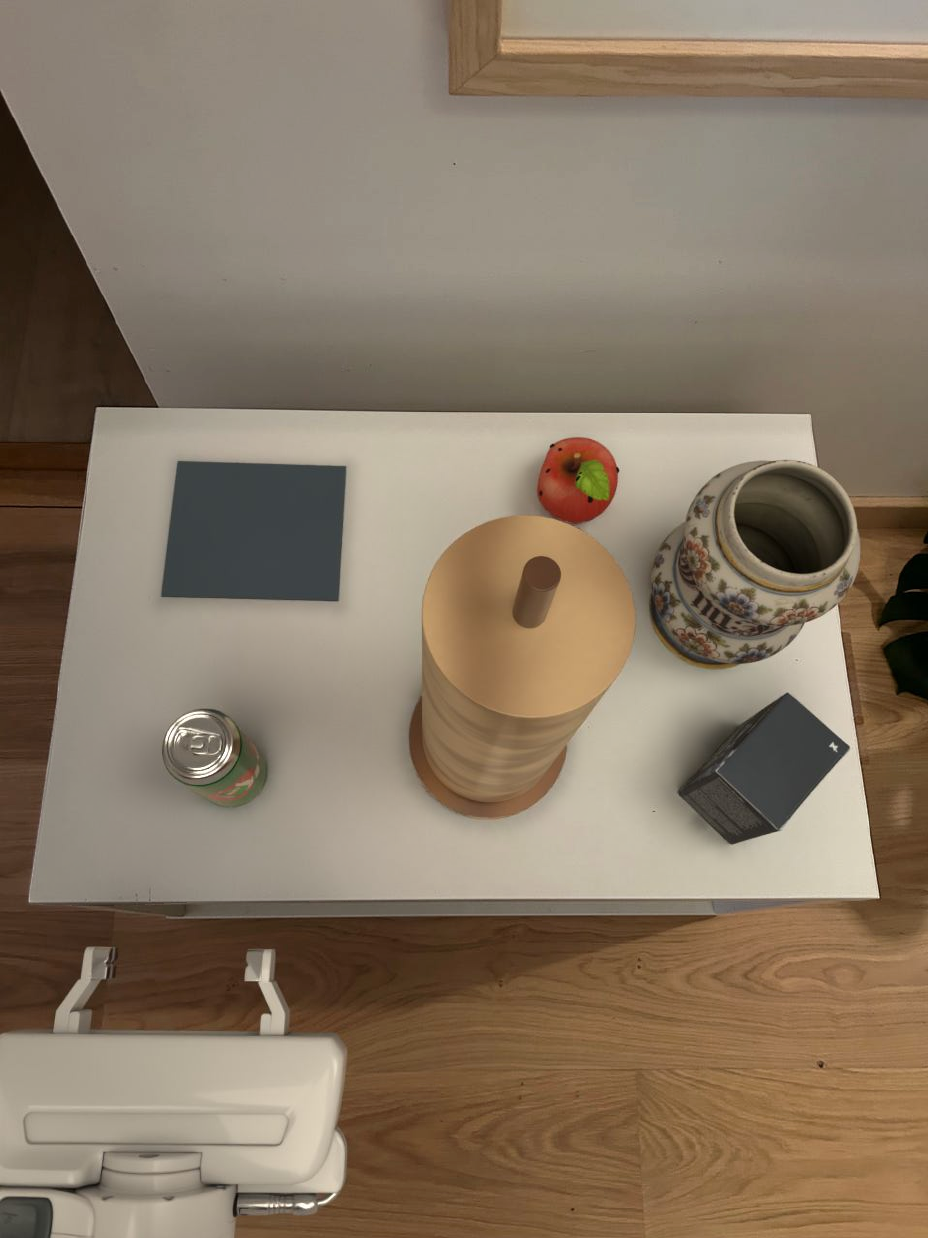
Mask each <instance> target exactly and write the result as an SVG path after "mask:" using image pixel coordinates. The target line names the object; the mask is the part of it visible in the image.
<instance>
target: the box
mask: <svg viewBox="0 0 928 1238" xmlns="http://www.w3.org/2000/svg"><path fill="white" fill-rule="evenodd" d="M850 750H851V746H850V745H849V744H848V743H846V742H845V741H844V740H843V739H842V738H841V737H839V735H837V734H836V733H835V731H833V730H832V729H831V728H830V727H828V726H827V725H826V724H825V722H823V721H821V720H820V718H818V717H817V716H816V715H815V714H814V713H813V712H812V711H810V710H809V709H808V708H807V707H806V706H805V705H804V704H802V702H801V701H799V700H798V699H797V698H796V697H794V696H793V695H792V694H791V693H790V692H785V693H784V694H783V695H780V696H779V697H778V698H777V699H775V700H773V701H772V702H771V703H769V704H767V706H765V707H764V708H762V709H760V710H759V711H758V712H756V713H754V715H752V716H750V717H749V718H748V719H747V720H744V721H743V722H742V723H740V724H739V726H737V728H736V729H735V730H734V731H733V732H732V734H731V735H729V736H728V737H727V739H726V740H725V741H724V742H723V743H722V744H721V745H720V746H719V748H718V749H716V751H714V753H713V754H712V755H711V756H710V757H709V758H708V759H707V760H706V762H705V763H703V764H702V766H701V767H700V768H699V769H698V770H697V772H696V773H695V774H694V775H693V776H691V777H690V778H689V780H688V781H687V782H686V783H685V784H684V785H683V786H682V787H681V788H680V789H679V790H678V792H677V794H678V796H679V797H680V798H681V799H683V800H684V801H685V802H686V803H687V804H688V806H689V807H691V808H692V809H693V810H694V811H695V812H696V813H697V814H698V815H699V816H700V817H701V818H702V819H703V820H704V821H705V822H706V823H707V824H708V825H709V826H711V827H712V829H713V830H714V831H715V832H716V833H717V834H719V835H720V836H721V837H722V838H723V840H725V841H726V843H728V844H729V845H732V846H733V845H735V844H739V843H742V842H746V841H749V840H752V839H756V838H760V837H764V836H767V835H771V834H773V833H777V832H781V831H783V828H785V826H786V825H787V824H788V822H789V821H790V820H791V818H792V817H793V815H794V814H795V813H796V812H797V811H798V810H799V808H800V807H801V806H802V805H803V804H804V803H805V801H807V799H808V797H810V795H811V794H812V793H813V792H814V790H815V789H817V787H818V786H819V785H821V783H822V781H824V779H825V778H826V777H827V776H828V774H830V773H831V771H833V769H834V768H835V767H836V766H837V765H838V764H839V762H840V761H841V760H842V759H843V758H844V757H845V756H846V755H847V754H848V753H849V752H850Z"/></svg>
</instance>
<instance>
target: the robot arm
mask: <svg viewBox="0 0 928 1238" xmlns="http://www.w3.org/2000/svg"><path fill="white" fill-rule="evenodd" d="M118 959H119V948H118V947H117V946H86V948H85V950H84V952H83V959H82V965H81V973H80V978H78V979H77V981H76V982H75V984H74V985H73V986H72V987H71V989H70V990H69V992H68V993H67V994H66V995H65V998H64V999H63V1000H62V1002H61V1003H60V1004H59V1006H58V1007H57V1009H56V1010H55V1014H54V1015H55V1018H54V1024H53V1028H19V1029H14V1030H9V1031H6V1032H3V1033H2V1032H1V1033H0V1238H235V1236H236V1235H235V1234H236V1223H237V1216H268V1215H276V1214H292V1215H293V1216H310V1215H314V1214H316V1213H317V1212H318V1209H319V1208H320V1207H323V1206H326V1205H328V1204H330V1203H332V1202H333V1201H334V1200H335V1199H336V1198H337V1197H338V1196H339V1195H340V1193H341V1192H342V1189H343V1188H344V1186H345V1182H346V1179H347V1166H348V1144H347V1143H348V1142H347V1139H346V1137H345V1134H344V1133H343V1131H342V1129H341V1128H340V1127H339V1126H338V1123H339V1117H340V1113H341V1109H342V1108H341V1107H342V1102H343V1098H344V1097H343V1096H344V1089H345V1082H346V1075H347V1074H346V1073H347V1063H348V1047H347V1045H346V1044H345V1042H344V1041H343V1039H342V1038H341V1037H340V1036H339V1035H338V1033H336V1032H333V1031H331V1032H330V1031H290V1022H291V1021H290V1019H291V1010H290V1007H289V1005H288V1003H287V1001H286V999H285V997H284V995H283V993H282V990H281V988H280V986H279V984H278V982H277V980H275V970H276V969H275V968H276V948H248V949H247V951H246V956H245V962H246V963H247V966H246V967H245V969H244V980H243V981H244V982H257V983H258V986H259V988H260V990H261V992H262V995H263V997H264V1000H265V1001H266V1004H267V1006H268V1008H269V1010H268V1011H266V1012H264V1013H262V1014H261V1015H260V1023H259V1024H260V1027H259V1031H258V1030H257V1031H256V1030H255V1031H253V1030H175V1029H173V1030H171V1029H170V1030H167V1029H166V1030H164V1029H163V1030H162V1029H161V1030H160V1029H159V1030H158V1029H91V1023H92V1016H93V1010H92V1009H91V1008H84V1007H85V1005H86V1003H87V1002H88V1000H89V999H90V998H91V996H92V995H93V993H94V992H95V990H96V988H97V987H98V985H99V984H100V983H101V981H102V980H110V979H116V974H117V964H116V962H117V960H118ZM319 1194H326V1195H325V1196H322V1197H319Z"/></svg>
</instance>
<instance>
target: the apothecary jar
mask: <svg viewBox="0 0 928 1238" xmlns="http://www.w3.org/2000/svg"><path fill="white" fill-rule="evenodd" d="M856 515H857V514H856V512H855V508H854V505H853V502H852V500H851V498H850V497H849V495H848V493H847V491H846V490H845V488H843V486H842V485H841V483H839V481H838V480H836V479H835V478H834V476H833V475H831V474H830V473H828V472H827V471H826V470H824V469H823V468H820V467H818V466H816V465H814V464H811V463H810V462H809V463H808V462H805V461H802V460H796V459H778V460H777V459H776V460H753V461H747V462H742V463H738V464H736V465H733V466H731V467H728V468H726V469H723V470H722V471H720V472H719V473H717V474H715V475H714V476H713V477H711V479H709V480H708V481H707V482H706V483H705V484H704V485H703V486H702V487H701V488H700V489H699V491H698V492H697V494H696V495H695V497H694V498H693V500H692V501H691V504H690V505H689V507H688V510H687V514H686V517H685V521H683V522H682V523H681V524H679V525H677V526H676V527H675V528H674V529H672V531H671V532H670V533H669V534H668V535H667V536H666V537H665V539H664V540H663V541H662V543H661V544H660V546H659V548H658V550H657V552H656V554H655V557H654V560H653V563H652V567H651V574H650V587H651V588H650V589H651V591H650V594H649V615H650V619H651V623H652V626H653V629H654V631H655V634H656V635H657V637H658V638H659V640H660V641H661V642H662V644H663V645H664V646H665V647H666V648H667V649H668V650H669V651H670V652H671V653H672V654H673V655H674V656H676V657H677V658H679V659H680V660H682V661H684V662H686V663H688V664H690V665H692V666H695V667H697V668H702V669H709V670H724V669H730V668H733V667H737V666H739V665H742V664H751V663H756V662H760V661H764V660H766V659H768V658H771V657H773V656H775V655H776V654H778V653H780V652H781V651H783V650H784V649H785V648H786V647H788V646H789V645H790V644H791V643H792V642H793V641H794V640H795V639H796V638H797V637H798V635H799V634H800V632H801V631H802V629H803V628H804V625H805V623H808V622H811V621H814V620H816V619H818V618H821V617H823V616H824V615H826V614H828V612H830V611H832V610H833V609H834V608H835V607H837V606H838V605H839V603H840V602H842V600H844V598H845V597H846V596H847V594H848V593H849V591H850V590H851V588H852V586H853V584H854V581H855V580H856V578H857V575H858V572H859V568H860V562H861V539H860V533H859V529H858V521H857V516H856Z"/></svg>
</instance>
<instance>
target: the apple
mask: <svg viewBox="0 0 928 1238" xmlns="http://www.w3.org/2000/svg"><path fill="white" fill-rule="evenodd" d="M619 473H620V467H618V466H617V462H616V460H615V458H614V456H613V454H612V452H611V451H610V450H609V449H608V448H607V447H606V446H605V445H603V444H602V443H601V442H599V441H597V440H594V439H593V438H588V437H583V436H575V437H567V438H563V439H559V440H557V441H556V442H554V443H551V444H550V445H549V449H548V450H547V453H546V456H545V458H544V460H543V463H542V466H541V469H540V472H539V474H538V475H539V476H538V480H537V486H536V494H537V499H538V501H539V503H540V505H541V506H542V508H543V509H544V510H545V511H546V512H547V513H549V515H551V516H552V517H554V519H556V520H559V521H562V522H564V523H568V524H580V523H581V524H582V523H586V522H589V521H592V520H594V519H596V518H598V517H599V516H601V515H602V514H603V513H604V512H605V511H606V510H607V509H608V508H609V507H610V505H611V503H612V501H613V500H614V498H615V495H616V492H617V489H618V482H619Z"/></svg>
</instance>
